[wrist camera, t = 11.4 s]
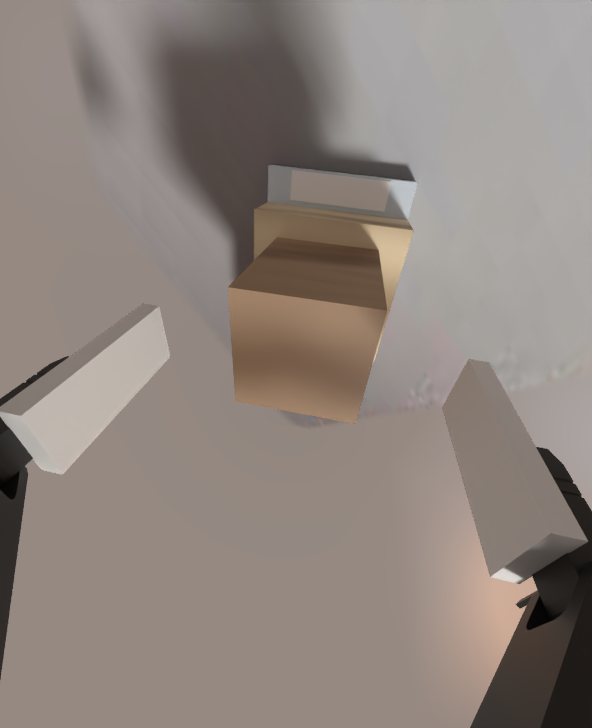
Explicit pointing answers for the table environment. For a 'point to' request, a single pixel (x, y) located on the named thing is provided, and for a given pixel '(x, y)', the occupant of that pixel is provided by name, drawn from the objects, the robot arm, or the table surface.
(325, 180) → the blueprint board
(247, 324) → the walnut block
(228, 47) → the table surface
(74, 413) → the robot arm
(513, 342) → the table surface
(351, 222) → the oak plinth
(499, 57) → the table surface
